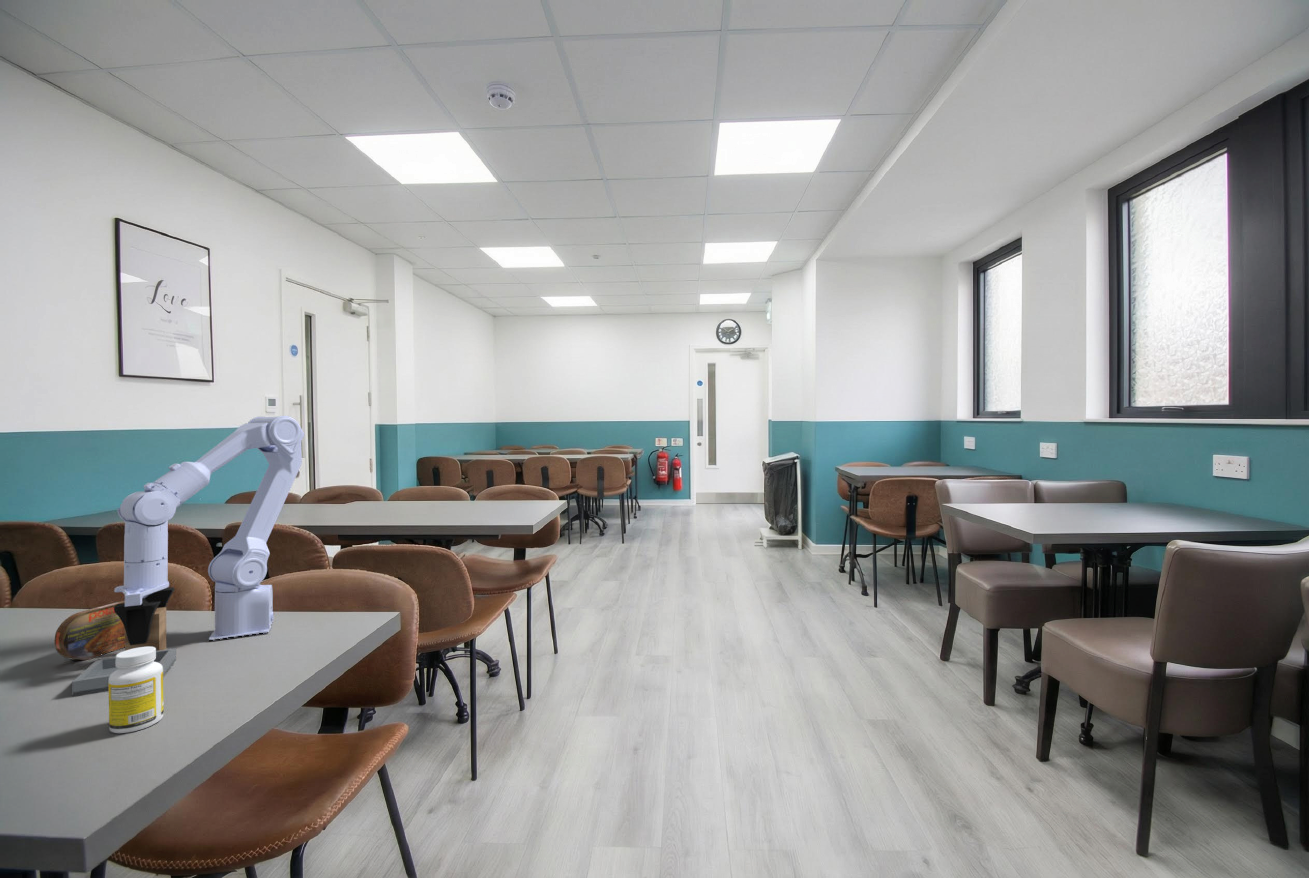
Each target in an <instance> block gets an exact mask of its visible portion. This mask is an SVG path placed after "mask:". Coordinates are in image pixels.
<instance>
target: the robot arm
mask: <svg viewBox="0 0 1309 878" xmlns="http://www.w3.org/2000/svg"><path fill="white" fill-rule="evenodd" d="M304 436H305V432H304V430H303V429H302V426H300V424H299V422H298V421H297V420H296V419H295V418H293V417H291V416H289V415H280V416H256V417H253V418H252V419H250V420H249V421H248V422H246V423H244V424H243V423H242V425H239V426H238V427H237V428H236V430H234V431H233V432H232V433H231V434H229V435H228V436H227V437H225V438H224V439H223V440H221V441H220V442H219V443H218V444H216V445H215V446H214V447H212V448H211V449H210V450H209V451H207V452H206V453H204V455H202V456H201V457H200V458H198V459H197V460H196V461H183V462H181V463H173V464H171V465H170V466H169V467H168V470H169V471H167V472H166V473H165V474H163V475H162V476H160V477H159V478H156V480H154V481H153V482H146V483H145V484H144V485H143V488H144V489H143V490H144V491H141V490H140V491H136V492H133V493H131V494H129V495H127V496H126V497H124V499H122V501H121V502H122V503H120V504H119V505H120V507H118V508H117V510H116V511H117V512H116V513H117V514H118V516H119V518H120V519H121V520H122V521H123V522H124V536H123V537H124V539H123V540H124V543H123V546H124V547H123V552H124V553H123V585H119V586H116V587H115V588H114V593H123V595H124V600H125V603H122V604H117V605H116V606H114V611H115V613H116V614H117V615H118V616H119V618H120V619H121V621H122V623H123V625H124V627H125V631H126V634H127V638H128V641H129V643H130V645H137V644H145V643H147V641H148V638H149V635H150V629H151V623H152V619H153V616H154V613H155V611H156V609H157V608H163V607H166V608H167V605H168V603H169V601H170V598H171V597H172V595H173V593H174V591H175V587H171V586H170V582H169V580H168V579H169V578H168V577H169V576H168V573H169V572H168V571H169V569H168V566H169V562H168V561H169V560H168V559H169V558H168V556H169V555H168V554H169V553H168V552H169V551H168V550H169V548H168V547H169V541H168V540H169V532H168V531H169V528H168V527H169V526H168V525H169V522H168V521H169V520H171V519H173V517H174V516H175V514H176V511H177V508H178V507H180V506H181V505H183V503H185V502H186V501H188V500H189V499H190V498H192V497H193V496H194V495H196V494H197V493H199V492H200V491H201V490H203V489H204V488H205V487H206V486H208V485H209V484H210V479H211V475H212V474H213V473H214V472H216V471H217V470H219V469H221V468H222V467H223V466H225V465H226V464H228V463H230V462H231V461H233V460H234V459H235V458H237V457H238V456H240V455H241V454H243V453H244V452H246V451H247V450H251V449H257V450H258V451H259V452H260V453H262V454H263V456H264V458H265V459H266V461H267V462H268V466H267V468H266V471H265V473H264V475H263V477H262V479H261V482H260V483H259V485H258V487H257V490H256V492H255V494H254V496H253V497H252V500H251V503H250V504H249V506H248V509H247V511H246V513H245V514H244V517H243V519H242V522H241V524H240V525H239V528H238V530H237V532H236V534H235V536H233V537H232V538H231V539H230V540H229V541H227V542H226V543H225V544H223V546H222V549H221V551H220V552H219V553H218V554H216V556H215V557H213V559H212V560H211V561H210V562H209V565H208V568H207V572H208V576H209V579H211V580H212V582H215V585H214V630H213V632H212V633H211V635H210V636H209V637H208V641H209V640H213V639H219V638H220V640H222V639H221V638H227V639H229V638H228V637H234V636H235V637H234V638H237V637H236V636H242V637H245V636H244V635H249V636H253V635H252V634H256V635H260V634H259V633H263V634H268V633H269V632H270V631H271V628H272V626H271V624H272V625H273V623H274V617H275V616H274V611H273V608H274V607H273V598H274V595H273V585H272V584H261V583H262V581H264V579H265V578H266V575H267V572H268V559H269V557H270V555H271V554H270V549H269V548H268V544H267V542H268V539H269V537H270V535H271V534H272V530H273V528H274V526H275V524H276V522H277V519H278V517H279V515H280V513H281V511H282V508H283V506H284V504H285V502H286V499H287V498H288V495H289V493H290V491H291V488H292V487H293V484H294V481H295V479H296V478H297V475H298V473H299V471H300V469H301V467H302V464H303V463H302V461H303V460H302V459H303V455H302V441H303V439H304ZM272 622H273V623H272ZM269 630H270V631H269ZM267 632H268V633H267ZM213 641H214V640H213Z"/></svg>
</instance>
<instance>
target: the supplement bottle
mask: <svg viewBox="0 0 1309 878" xmlns="http://www.w3.org/2000/svg"><path fill="white" fill-rule="evenodd" d="M115 657H116V662H115V664H116V667H117V668H118V670H116V671H114V672H113V673H112V674H111V675H110V677H109V682H108V686H109V691H108V726H109V729H108V730H109V731H110V732H112V733H114V734H127V733H133V732H137V731H140V730H143V729H146V728H149V727H151V726H153V725H156V723H158V722H159V721H161V720H162V719H163V718H164V708H165V707H164V677H163V667H162V665H161V664H160V663H158V662H154V660H155V659H156V648H155V647H149V646H148V647H139V648H134V649H130V650H126V651H125V650H123V651H121V652H118V653H117V654H116V655H115Z"/></svg>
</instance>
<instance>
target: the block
mask: <svg viewBox="0 0 1309 878" xmlns="http://www.w3.org/2000/svg"><path fill="white" fill-rule="evenodd" d="M148 646H149V647H155V648H156V651H158V650H165V649H167V606H166V607H163V608H157V609H156V611H155V613H154V616H153V619H152V623H151V629H150V635H149V638H148V641H147V643H145V644H137V645H130V643H129V641H128V638H127V634H126V631H125V648H124V651H126V650H130V649H134V648H139V647H148Z"/></svg>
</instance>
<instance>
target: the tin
mask: <svg viewBox="0 0 1309 878" xmlns="http://www.w3.org/2000/svg"><path fill="white" fill-rule="evenodd" d="M122 603H125V599H124V600H121V601H117V602H113V603H109V604H105V605H102V606H98V607H93V608H89V609H86V610H82V611H78V612H76V613H73V614H71V615H70V616H68V617H67V618H66V619H65V620H64V621H62V622H61V624H60V625H59V626H58V627H57V629H56V632H55V634H54V647H55V649H56V652H57V653H58V654H59V655H61V657H64V658H66V659H70V660H80V661H81V660H82V661H83V660H84V661H85V660H91V659H95V658H97V656H98V657H101V656H102V655H101V654H104V655H106V654H105V653H107V654H109V653H108V652H110V653H112V652H115V650H116V651H118V649H119V650H121V648H122V649H125V648H124V647H125V627H124V625H123V623H122V621H121V619H120V618H119V616H118V615H117V614H116V613H115V611H114V606H116V605H117V604H122ZM111 651H112V652H111ZM100 655H101V656H100ZM94 657H95V658H94Z"/></svg>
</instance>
